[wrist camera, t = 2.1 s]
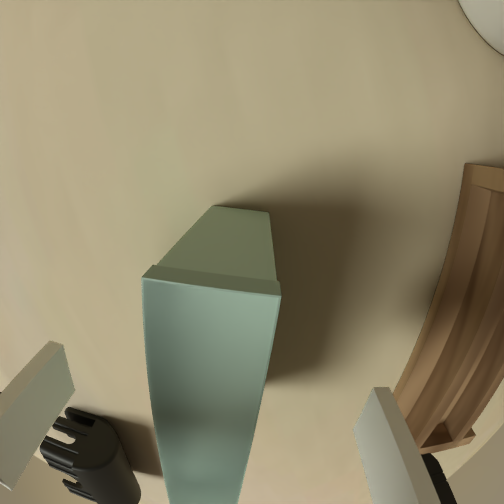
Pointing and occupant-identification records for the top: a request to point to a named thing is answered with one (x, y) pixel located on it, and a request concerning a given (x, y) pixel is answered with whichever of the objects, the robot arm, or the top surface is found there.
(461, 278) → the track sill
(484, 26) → the pill bottle
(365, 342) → the top surface
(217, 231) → the door panel
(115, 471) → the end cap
